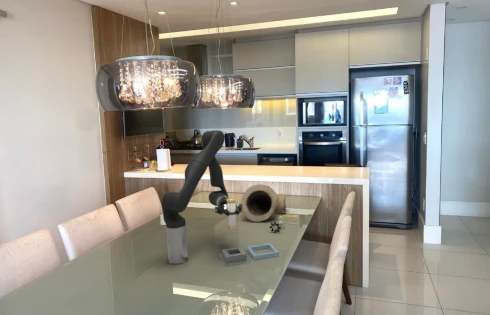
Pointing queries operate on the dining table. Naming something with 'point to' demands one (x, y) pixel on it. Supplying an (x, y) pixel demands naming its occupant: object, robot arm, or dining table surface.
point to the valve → (278, 224)
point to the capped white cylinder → (231, 213)
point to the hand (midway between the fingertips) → (233, 213)
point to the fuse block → (234, 256)
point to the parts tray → (264, 255)
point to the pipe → (262, 203)
